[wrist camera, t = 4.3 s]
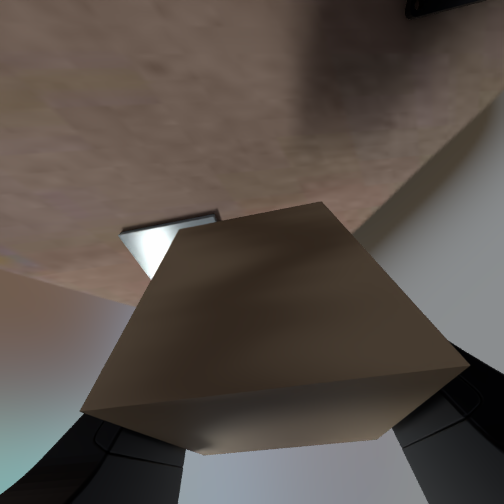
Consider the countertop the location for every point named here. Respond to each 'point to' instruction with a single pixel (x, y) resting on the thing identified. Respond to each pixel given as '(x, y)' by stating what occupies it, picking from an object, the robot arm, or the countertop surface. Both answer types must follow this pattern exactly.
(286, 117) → the countertop surface
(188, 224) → the coaster
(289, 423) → the beige cube
